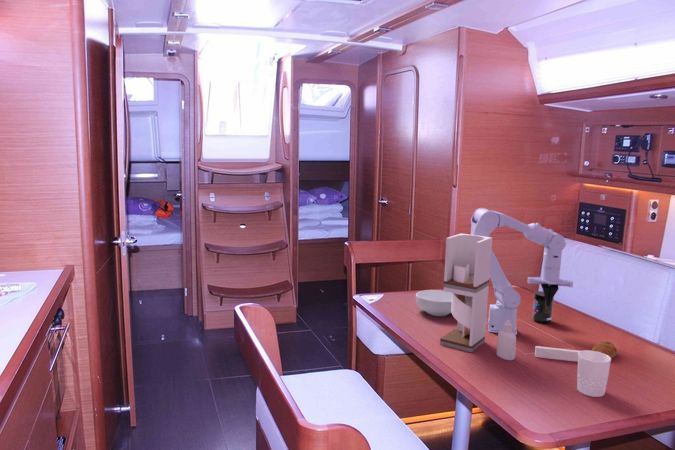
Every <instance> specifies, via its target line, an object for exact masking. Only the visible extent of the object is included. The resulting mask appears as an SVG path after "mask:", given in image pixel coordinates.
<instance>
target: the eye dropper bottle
mask: <svg viewBox="0 0 675 450" xmlns="http://www.w3.org/2000/svg"><path fill="white" fill-rule="evenodd" d="M516 346H517V335H515V334H514V333H513V332H512V324H510V320H507V322H506V323H504V329H503V330H501V331H499V333H497V344H496V356H497V357H499V358H501V359H502V360H506V361H513V360H515V358H516V348H517V347H516Z"/></svg>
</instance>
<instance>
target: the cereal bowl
mask: <svg viewBox="0 0 675 450" xmlns="http://www.w3.org/2000/svg"><path fill="white" fill-rule="evenodd" d="M415 301H416V304H417V306H418V308H419V309H421V310H422V311H424V312H426V314H428V315H430V316H434V317H446V316H447V315H449V314H452V312H451V305H452V293H450V292H445V291H443V290H441V289H426V290H421V291H418V292H416V293H415Z"/></svg>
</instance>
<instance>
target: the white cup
mask: <svg viewBox="0 0 675 450" xmlns="http://www.w3.org/2000/svg"><path fill="white" fill-rule="evenodd" d="M579 351H580V352H579V353H578V362H577V368H576V369H577V372H576V375H577V376H576V380H577V383H576V384H577V385H576V389H577V391H578V392H579V393H580V394H582V395H585V396H588V397H591V398H592V397H593V398H600V397H601V398H602V397H603V396H605V394H606V389H607V384H608V380H609V374H610V369H611V368H610V367H611V362H612V359H611V358H610V357H609V356H608V355H606V354H604V353H601V352H597V351H592V350H587V349H585V350H579Z"/></svg>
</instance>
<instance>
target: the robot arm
mask: <svg viewBox="0 0 675 450" xmlns="http://www.w3.org/2000/svg"><path fill="white" fill-rule="evenodd" d="M470 223H471V225H470V235H477V236H485V237H490V235H491V234H492V232H493V231H494V230H495V229H496V228H497V227H498V228H502V227H508V228H509V229H513V230H515V231H518V232H520V233H522V234H523V235H524V238H525V239H527V240H529V241H531V242H533V243H535V244H539V245H540V246H543V248H544V249H543V257H542V269H541V277H539V276H538V277H537V276H536V277H534V276H532V277H531V276H528V277H527V284H528V285H533V284H534V285H541V288H542V291H543V292H544V296H545V304H546V306H550V305H551V302H552V299H553V297H555V295H556V294H557V293H558V291H559V289H560V288H559V287H568V288H573V286H574V282H573V280H568V279H562V278H560V275H561V263H562V253H563V250H564V249H565V247H566V246H567V242H566V240H565V238H564V236H563V235H561V234H559V233H557V232H555V231H554V229H552V228H549V229H548V228H546V227H543V226H542V224H540V223H538V222H536V223H534V222H532V223H529V224H527V223H524V222H522V221H521V220H518V219H516V218H513V217H511V216H509V215H507V214H505V213H502V212H499V211H496V210H492V209H490V210H489V209H487V208H486V207H479V208H477V209H475V210H474V212H473V214H472V216H471V218H470ZM489 279H490V280H491V282H492V287H493V288H494V289H493V290H494V294H493V295H494V297H495V298H496V302H495V304H489V309H488V319H487V328H488V333H496V334H498V333H499V331H501V330H503V329H504V323H506V322H507V320H510V324H512V332H513V333H514V334H515V336H517V335H518V331H517V315H518V306H519V305H520V303H521V301H522V298H521V295H520V293H519V292H518V291H516V290H515V288H514V287H513V285H512V284H511V282H510V281H509V280H508V277H506V274H505V272H504V271H503V269H502V266H501V265H500V263H499V261H498V259H497V257H496V255H495V253H494V250H493V248H492V249H491V263H490V276H489Z"/></svg>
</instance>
